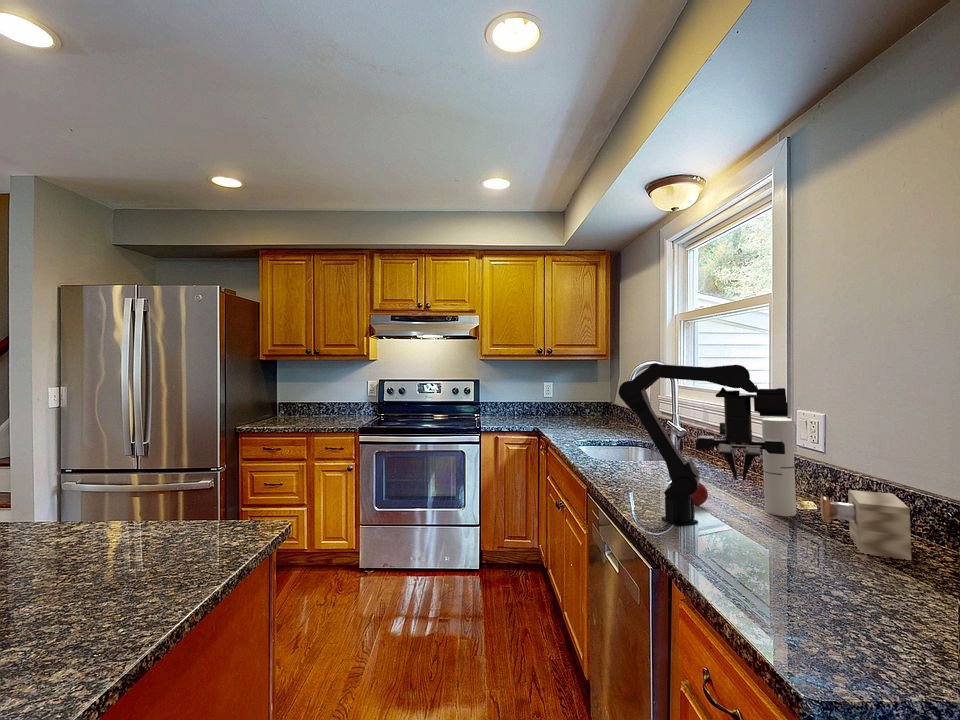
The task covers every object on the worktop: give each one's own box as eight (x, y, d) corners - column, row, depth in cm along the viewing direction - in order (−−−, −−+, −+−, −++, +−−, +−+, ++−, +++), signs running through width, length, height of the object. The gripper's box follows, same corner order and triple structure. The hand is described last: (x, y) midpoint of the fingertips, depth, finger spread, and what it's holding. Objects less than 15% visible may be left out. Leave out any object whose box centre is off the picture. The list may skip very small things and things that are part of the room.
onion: (684, 508, 133) (684, 479, 133) (686, 502, 138) (685, 475, 138) (707, 510, 130) (706, 481, 130) (708, 505, 135) (707, 477, 135)
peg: (824, 525, 104) (823, 499, 105) (821, 517, 109) (820, 493, 109) (878, 531, 100) (877, 504, 100) (871, 523, 105) (870, 498, 105)
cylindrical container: (801, 516, 123) (797, 420, 124) (771, 515, 125) (767, 420, 125) (789, 508, 130) (785, 418, 131) (760, 507, 132) (757, 418, 132)
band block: (861, 553, 99) (859, 503, 99) (849, 535, 109) (848, 489, 109) (911, 560, 95) (909, 507, 95) (894, 540, 105) (892, 493, 106)
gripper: (780, 413, 118) (782, 476, 117) (698, 411, 127) (700, 470, 127) (784, 418, 108) (786, 486, 108) (694, 415, 117) (696, 479, 117)
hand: (739, 479), depth 115 cm, fingers closed
